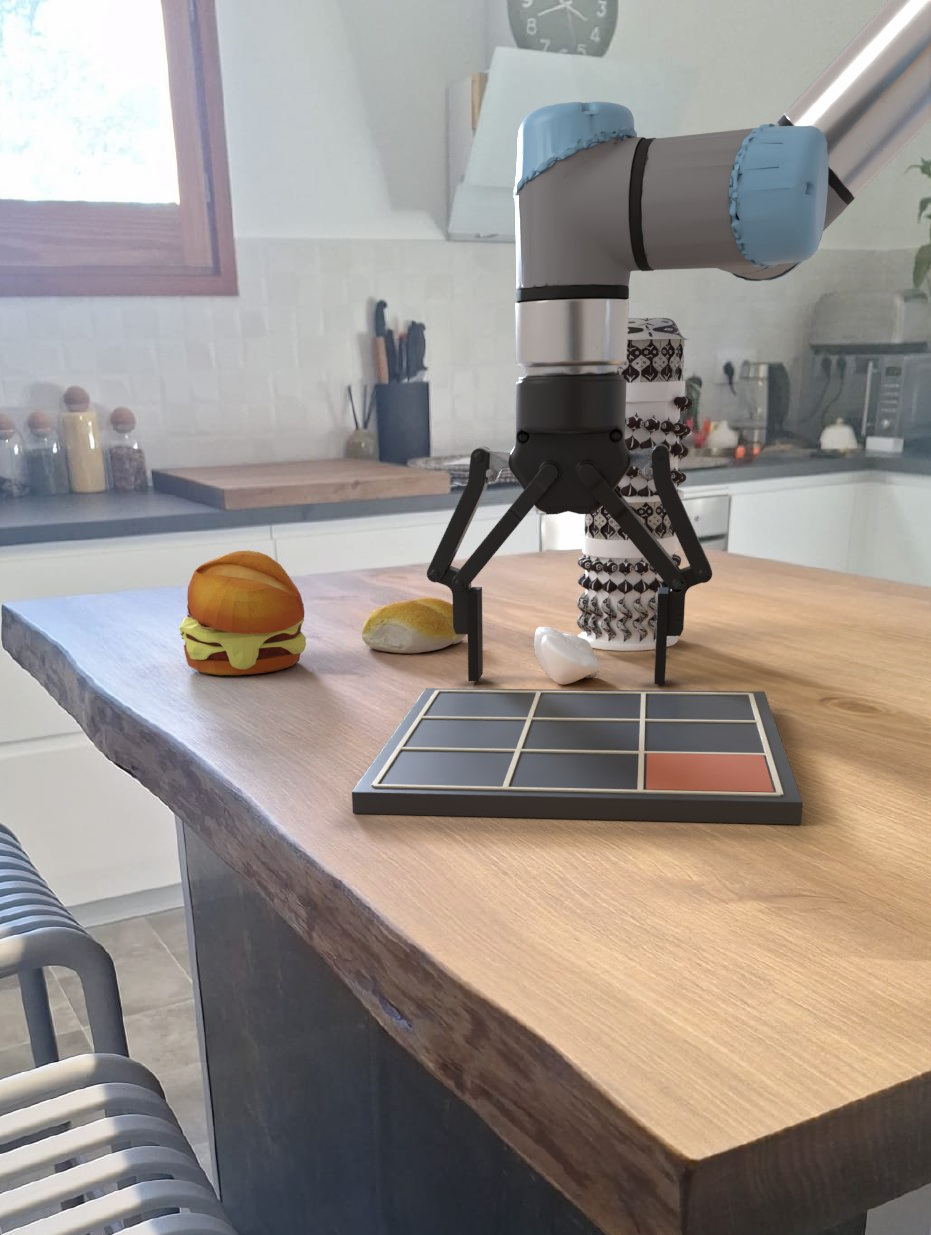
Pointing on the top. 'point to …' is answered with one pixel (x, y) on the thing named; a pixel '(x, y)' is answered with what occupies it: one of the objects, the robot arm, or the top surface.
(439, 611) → the bread roll
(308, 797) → the top surface
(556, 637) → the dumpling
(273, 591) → the cheeseburger
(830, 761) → the top surface
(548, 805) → the board
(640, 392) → the decorative candle
